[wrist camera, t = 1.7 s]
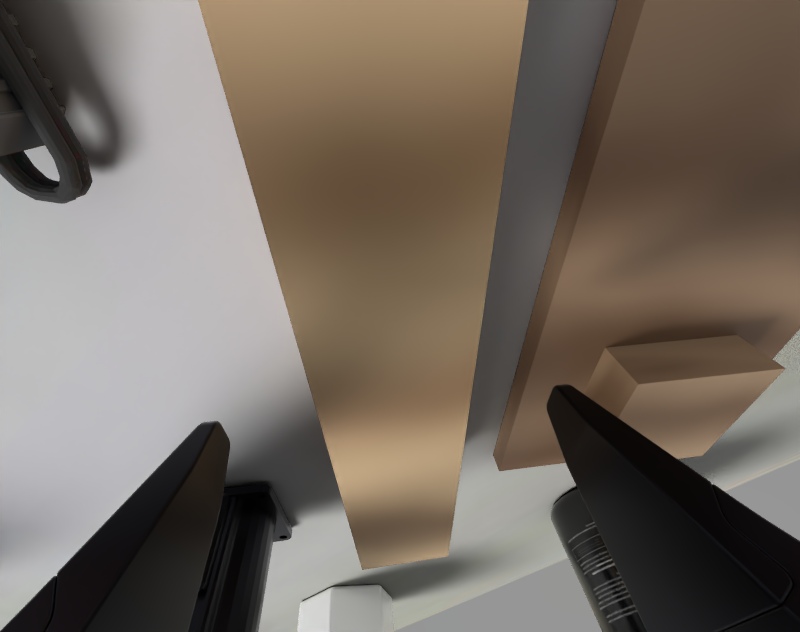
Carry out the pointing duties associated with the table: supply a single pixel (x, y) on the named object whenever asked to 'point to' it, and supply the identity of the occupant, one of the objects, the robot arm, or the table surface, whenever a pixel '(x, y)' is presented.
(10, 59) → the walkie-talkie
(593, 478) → the robot arm
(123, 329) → the table surface
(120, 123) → the table surface
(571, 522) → the supplement bottle
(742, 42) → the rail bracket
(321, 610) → the jar
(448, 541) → the oak rail
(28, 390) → the table surface
